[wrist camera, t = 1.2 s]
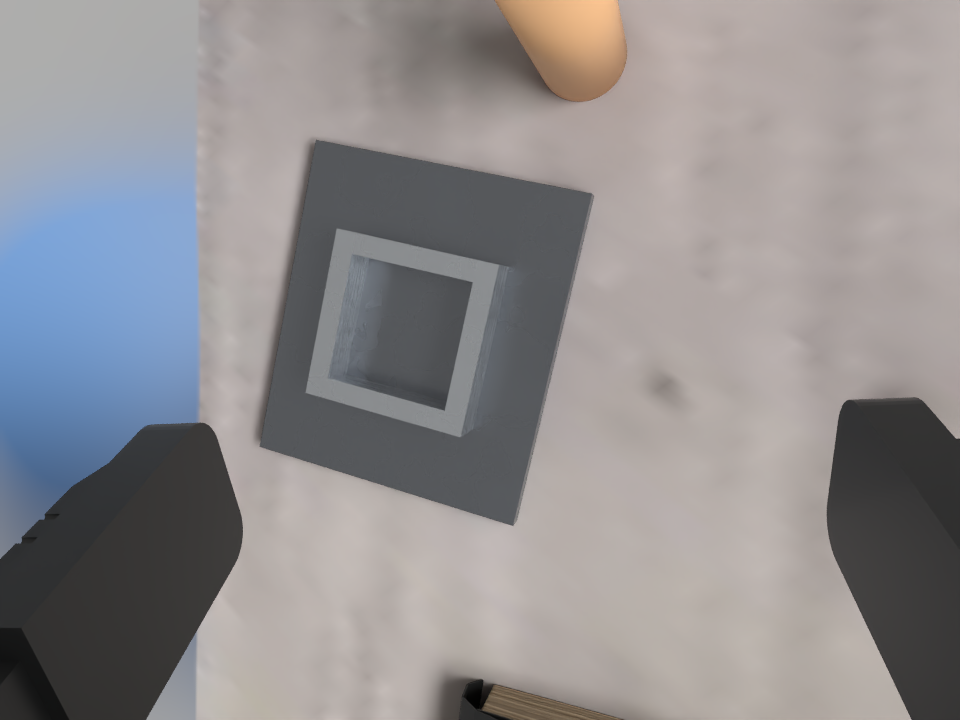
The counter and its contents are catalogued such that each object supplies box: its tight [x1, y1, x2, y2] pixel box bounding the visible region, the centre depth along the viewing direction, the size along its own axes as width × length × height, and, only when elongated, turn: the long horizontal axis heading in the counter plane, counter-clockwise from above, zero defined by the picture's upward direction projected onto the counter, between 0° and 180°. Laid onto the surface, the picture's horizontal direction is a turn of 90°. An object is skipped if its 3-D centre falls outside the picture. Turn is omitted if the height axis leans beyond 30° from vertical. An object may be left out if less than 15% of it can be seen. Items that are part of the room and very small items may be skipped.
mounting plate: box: [260, 140, 594, 526], centre depth 35 cm, size 16×14×3 cm
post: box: [495, 0, 627, 102], centre depth 28 cm, size 4×4×12 cm
